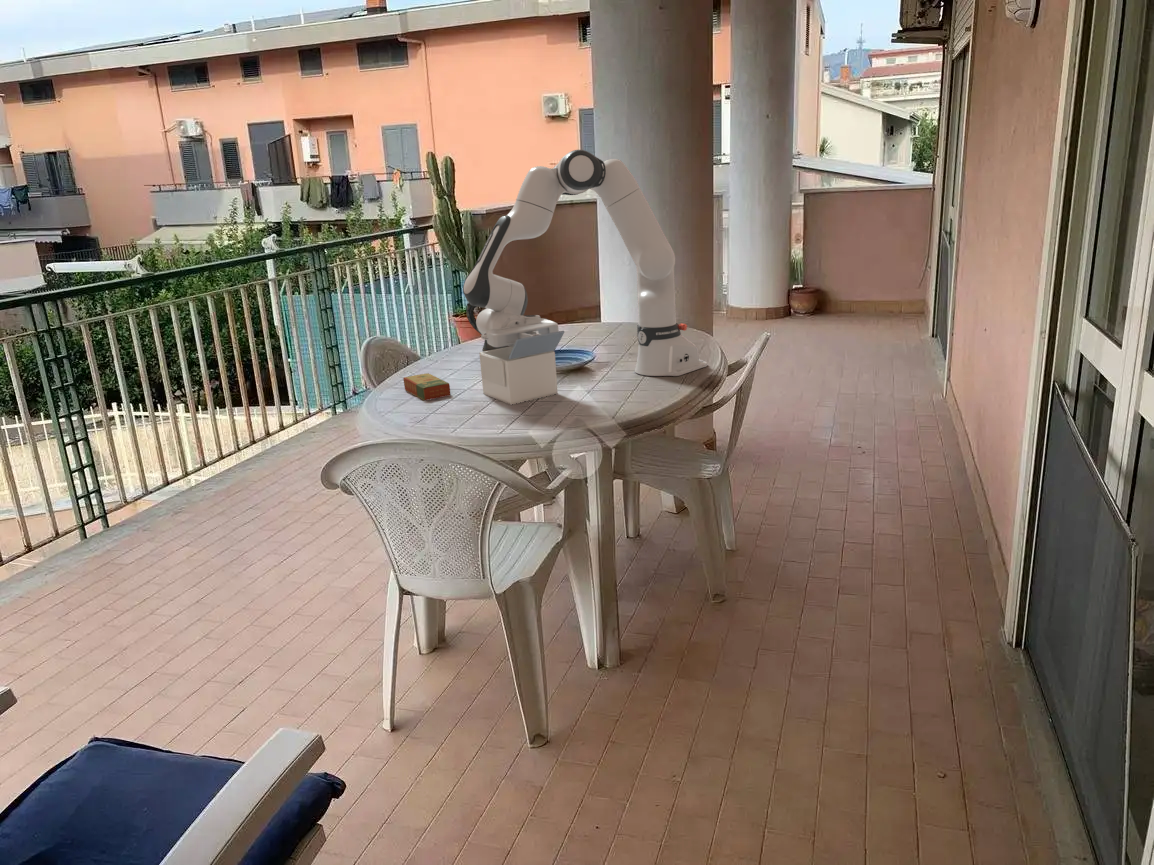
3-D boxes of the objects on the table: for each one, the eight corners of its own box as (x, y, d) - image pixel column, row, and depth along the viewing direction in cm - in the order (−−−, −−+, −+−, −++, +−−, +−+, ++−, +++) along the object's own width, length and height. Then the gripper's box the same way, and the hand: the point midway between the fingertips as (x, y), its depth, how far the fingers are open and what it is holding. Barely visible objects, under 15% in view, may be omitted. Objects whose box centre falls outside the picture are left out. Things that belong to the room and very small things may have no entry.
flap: (563, 330, 219) (564, 331, 219) (554, 348, 226) (555, 350, 225) (516, 339, 212) (517, 340, 212) (508, 357, 218) (509, 359, 218)
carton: (430, 385, 249) (428, 372, 248) (451, 396, 236) (450, 382, 235) (404, 390, 245) (402, 376, 244) (424, 402, 232) (422, 387, 231)
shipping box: (529, 383, 244) (526, 343, 240) (559, 393, 230) (556, 351, 227) (480, 393, 235) (476, 352, 232) (508, 405, 222) (504, 361, 218)
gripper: (477, 324, 222) (501, 332, 211) (542, 314, 233) (568, 321, 221) (479, 347, 224) (503, 356, 213) (543, 335, 235) (569, 344, 224)
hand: (536, 338), depth 217 cm, fingers closed, pressing on flap
